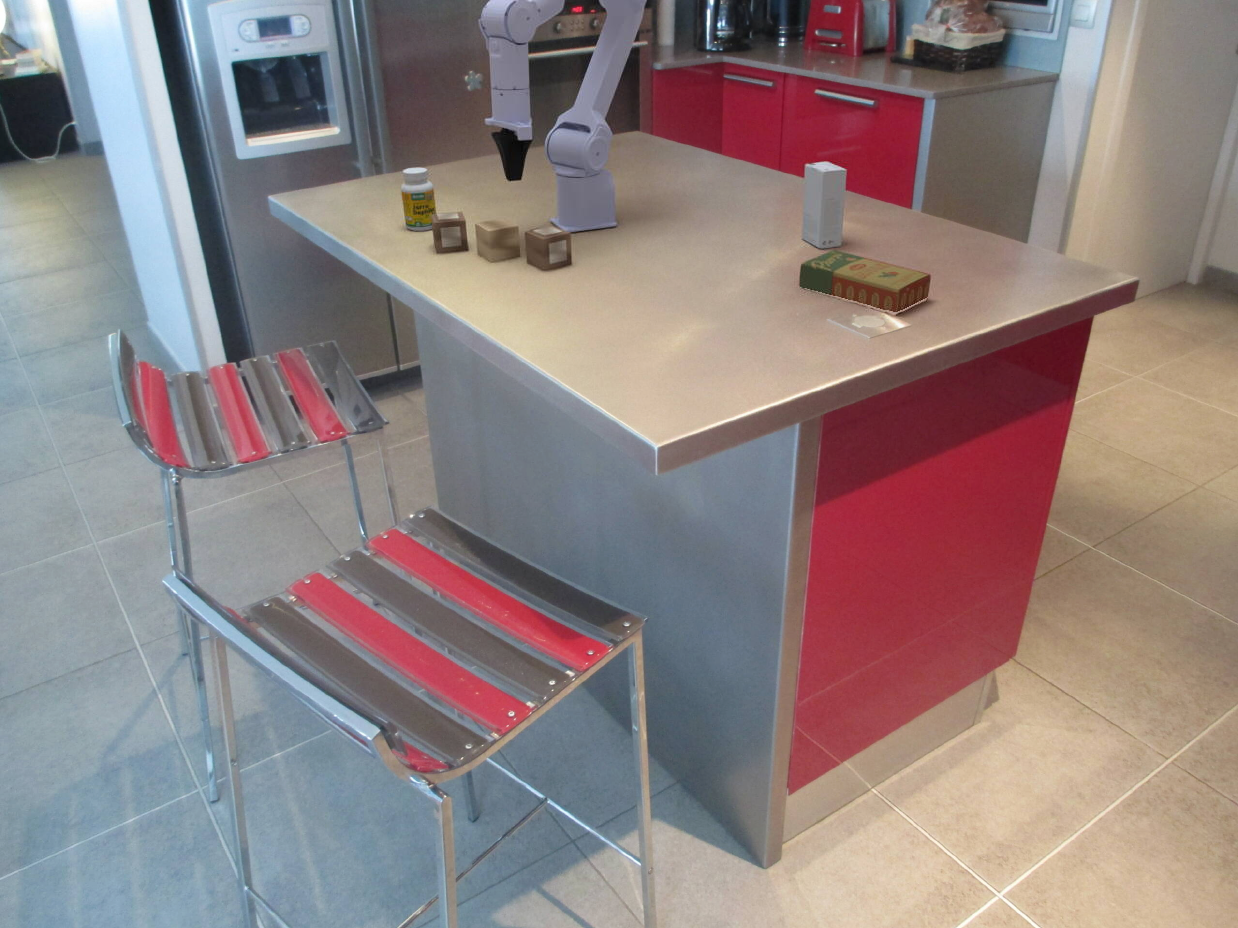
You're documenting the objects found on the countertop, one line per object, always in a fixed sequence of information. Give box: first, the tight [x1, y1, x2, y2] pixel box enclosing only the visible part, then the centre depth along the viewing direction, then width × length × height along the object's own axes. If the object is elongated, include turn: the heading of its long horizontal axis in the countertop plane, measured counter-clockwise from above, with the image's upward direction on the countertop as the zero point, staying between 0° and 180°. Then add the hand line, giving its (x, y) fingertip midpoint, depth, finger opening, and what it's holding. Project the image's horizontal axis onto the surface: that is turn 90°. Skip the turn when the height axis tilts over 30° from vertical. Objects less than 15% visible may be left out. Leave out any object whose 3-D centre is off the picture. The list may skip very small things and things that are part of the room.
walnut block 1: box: [431, 211, 469, 254], centre depth 157 cm, size 5×5×5 cm
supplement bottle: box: [400, 167, 437, 232], centre depth 166 cm, size 5×5×10 cm
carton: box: [798, 249, 932, 312], centre depth 137 cm, size 8×16×4 cm, turn 44°
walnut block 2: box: [524, 224, 573, 272], centre depth 149 cm, size 5×5×5 cm
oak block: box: [474, 217, 521, 264], centre depth 153 cm, size 5×5×5 cm
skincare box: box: [801, 161, 848, 250], centre depth 155 cm, size 6×4×12 cm
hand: (513, 180), depth 153 cm, fingers closed
